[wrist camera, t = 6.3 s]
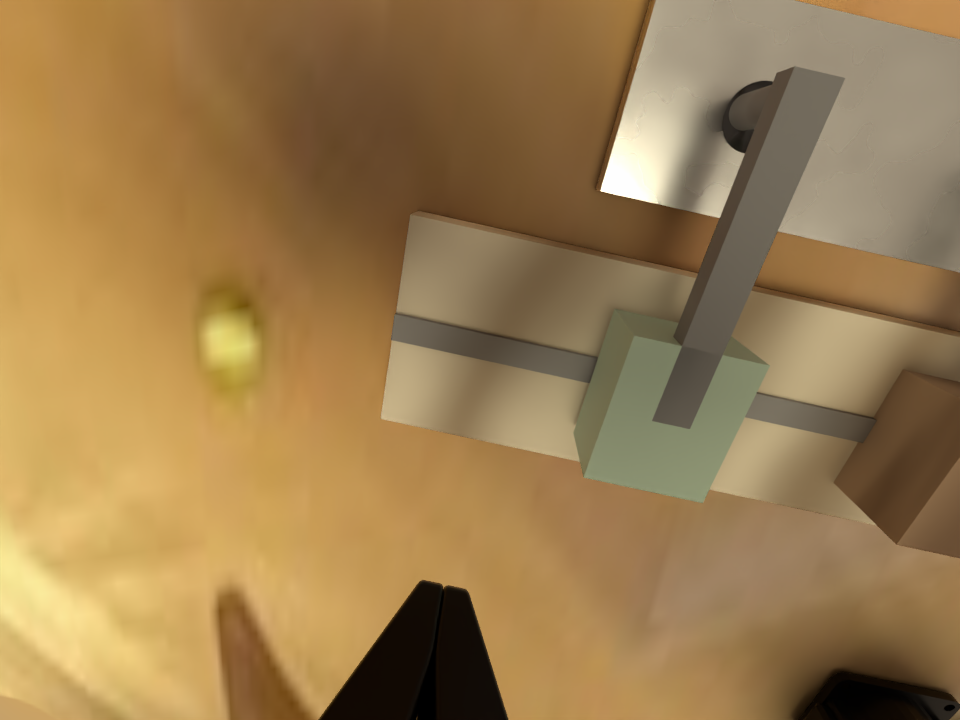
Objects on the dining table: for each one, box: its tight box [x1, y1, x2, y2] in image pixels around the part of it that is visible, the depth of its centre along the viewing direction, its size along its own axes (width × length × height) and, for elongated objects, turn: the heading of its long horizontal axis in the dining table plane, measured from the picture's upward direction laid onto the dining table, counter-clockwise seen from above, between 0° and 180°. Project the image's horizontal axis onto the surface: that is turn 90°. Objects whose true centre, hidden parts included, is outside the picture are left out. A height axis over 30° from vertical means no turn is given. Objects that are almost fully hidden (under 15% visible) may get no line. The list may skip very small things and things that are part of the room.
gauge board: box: [381, 211, 960, 558], centre depth 16 cm, size 24×14×5 cm, turn 78°
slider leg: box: [573, 66, 845, 503], centre depth 15 cm, size 4×12×3 cm, turn 168°
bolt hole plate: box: [596, 0, 960, 272], centre depth 15 cm, size 18×6×1 cm, turn 78°
